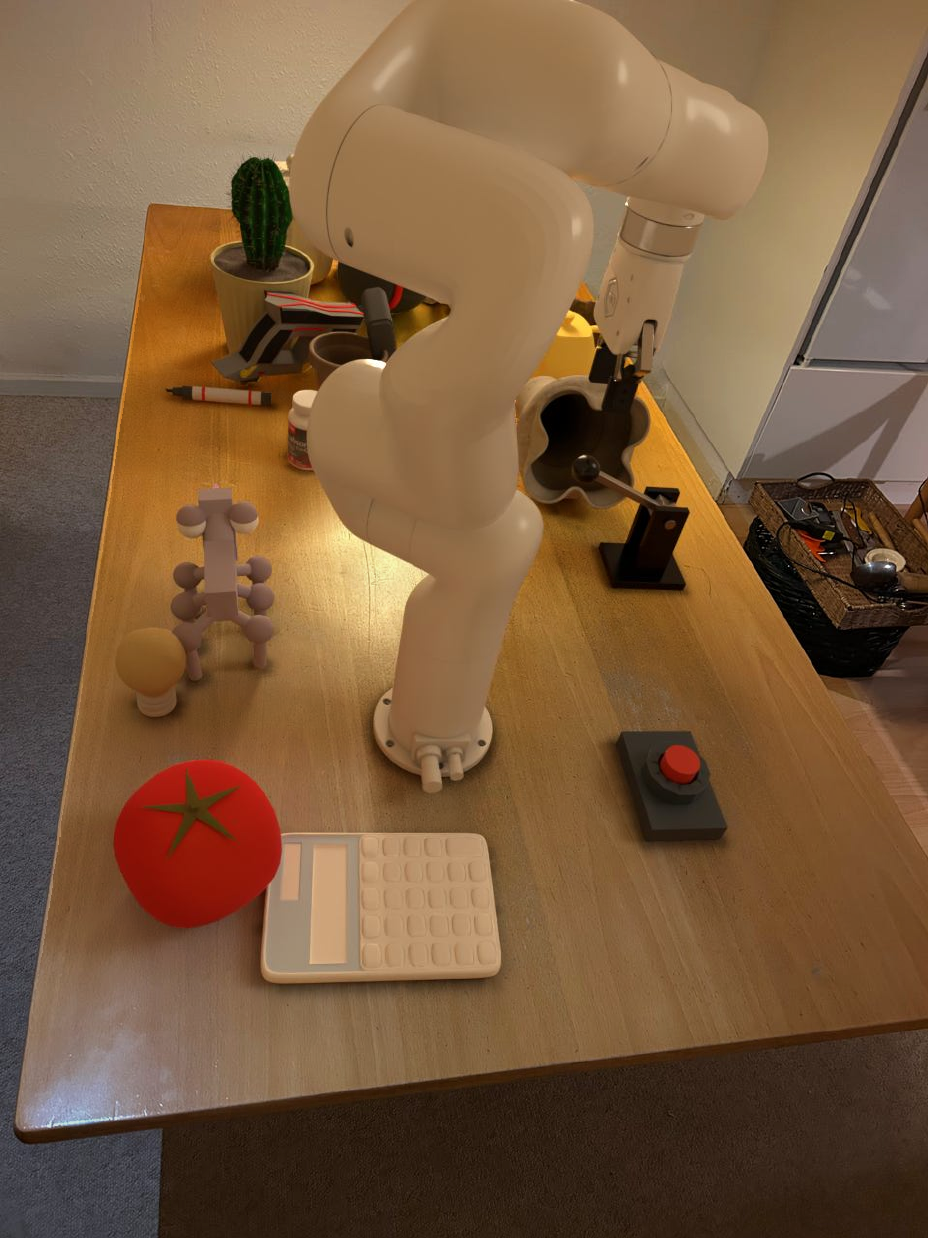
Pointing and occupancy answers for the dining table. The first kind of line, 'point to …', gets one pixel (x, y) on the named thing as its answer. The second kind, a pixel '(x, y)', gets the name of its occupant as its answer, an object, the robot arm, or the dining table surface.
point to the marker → (222, 395)
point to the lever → (613, 482)
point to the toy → (358, 281)
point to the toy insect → (220, 576)
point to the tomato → (197, 843)
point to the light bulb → (151, 668)
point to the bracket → (648, 547)
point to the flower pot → (338, 352)
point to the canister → (299, 240)
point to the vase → (574, 439)
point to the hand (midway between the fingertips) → (608, 395)
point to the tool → (286, 336)
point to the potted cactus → (257, 251)
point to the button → (680, 764)
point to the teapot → (569, 349)
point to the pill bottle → (299, 429)
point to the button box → (668, 789)
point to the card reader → (378, 322)
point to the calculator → (380, 909)
